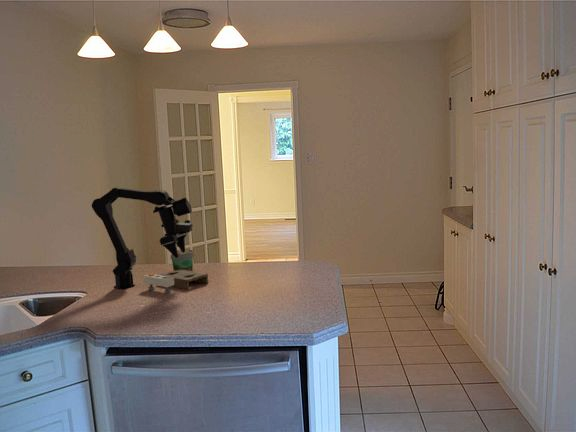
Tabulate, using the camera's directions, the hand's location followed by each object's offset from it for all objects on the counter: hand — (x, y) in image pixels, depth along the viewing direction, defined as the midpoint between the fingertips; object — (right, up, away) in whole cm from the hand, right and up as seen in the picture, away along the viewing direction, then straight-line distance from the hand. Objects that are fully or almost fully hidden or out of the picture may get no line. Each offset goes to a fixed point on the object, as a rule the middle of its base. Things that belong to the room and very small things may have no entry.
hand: (180, 254), depth 219 cm
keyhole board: (0, -13, +4) cm, 13 cm away
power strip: (-7, -14, -6) cm, 17 cm away
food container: (-2, -10, +22) cm, 24 cm away
